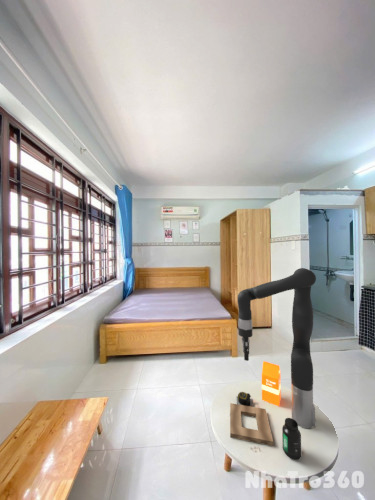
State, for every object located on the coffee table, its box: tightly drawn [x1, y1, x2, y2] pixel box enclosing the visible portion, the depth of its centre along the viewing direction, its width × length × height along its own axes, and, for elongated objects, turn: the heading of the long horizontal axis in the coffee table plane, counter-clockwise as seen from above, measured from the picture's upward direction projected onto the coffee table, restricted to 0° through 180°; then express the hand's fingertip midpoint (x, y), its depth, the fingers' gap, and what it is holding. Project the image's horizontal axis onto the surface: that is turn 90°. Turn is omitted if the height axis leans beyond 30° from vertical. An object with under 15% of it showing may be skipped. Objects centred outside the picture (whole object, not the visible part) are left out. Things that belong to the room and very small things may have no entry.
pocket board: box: [229, 402, 274, 447], centre depth 92 cm, size 18×18×2 cm
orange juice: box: [261, 360, 282, 407], centre depth 109 cm, size 8×9×20 cm
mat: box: [235, 395, 255, 407], centre depth 105 cm, size 9×8×1 cm
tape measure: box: [237, 391, 252, 406], centre depth 105 cm, size 7×7×4 cm
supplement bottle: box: [281, 417, 302, 461], centre depth 79 cm, size 7×7×12 cm
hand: (245, 356), depth 106 cm, fingers open, 8 cm apart
